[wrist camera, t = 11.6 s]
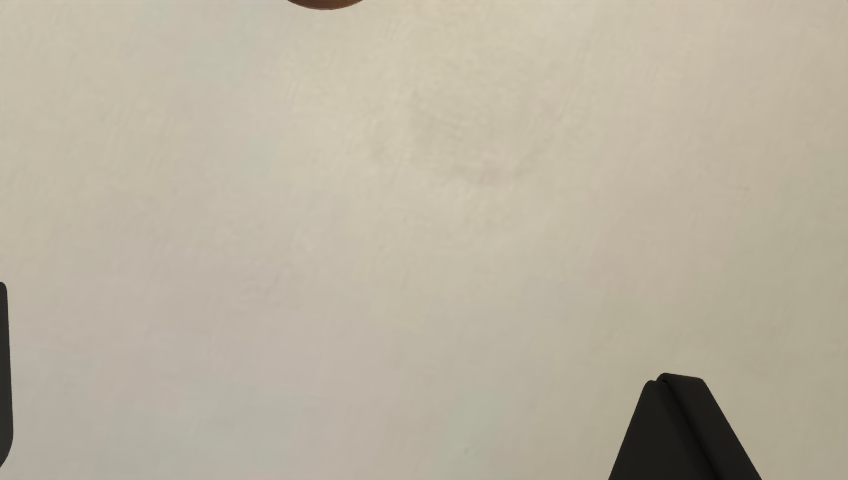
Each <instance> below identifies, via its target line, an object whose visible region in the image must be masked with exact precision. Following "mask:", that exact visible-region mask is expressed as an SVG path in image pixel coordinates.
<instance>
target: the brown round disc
mask: <svg viewBox="0 0 848 480" xmlns="http://www.w3.org/2000/svg"><path fill="white" fill-rule="evenodd" d="M288 1H290V2H292V3H294V4H297V5H299V6H303V7H307V8H311V9H318V10H333V9H340V8H344V7H348V6H351V5H354V4H356V3H358V2H360V1H362V0H288Z"/></svg>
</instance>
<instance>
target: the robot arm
mask: <svg viewBox="0 0 848 480" xmlns="http://www.w3.org/2000/svg"><path fill="white" fill-rule="evenodd" d="M12 440H13V413H12V391H11V368H10V346H9V323H8V301H7V289H6V286H5V284H4V283H2V282H0V467H1V466H2V464H3V463H4V461H5V460H6V458H7V456H8V454H9V451H10V448H11V445H12ZM608 480H762V479H761V477H760V476H759V474H758V472H757V471H756V469H755V467H754V466H753V464H752V462H751V460H750V459H749V457H748V455H747V454H746V452H745V450H744V448H743V447H742V445H741V443H740V442H739V440H738V438H737V436H736V435H735V433H734V431H733V430H732V428H731V426H730V424H729V423H728V421H727V419H726V418H725V416H724V414H723V412H722V411H721V409H720V407H719V406H718V404H717V402H716V400H715V399H714V397H713V395H712V394H711V392H710V390H709V388H708V387H707V385H706V383H705V382H704V381H703V380H702V379H700V378H696V377H690V376H683V375H677V374H670V373H663V374H661V375H660V376H659V377H658V378H657V380H656V381H653V380H650V381H648V382H647V383H646V384H645V386H644V388H643V390H642V393H641V395H640V398H639V401H638V403H637V406H636V409H635V411H634V414H633V416H632V419H631V422H630V424H629V427H628V429H627V432H626V435H625V437H624V440H623V443H622V445H621V448H620V450H619V453H618V456H617V458H616V461H615V464H614V466H613V469H612V471H611V474H610V477H609V479H608Z"/></svg>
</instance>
